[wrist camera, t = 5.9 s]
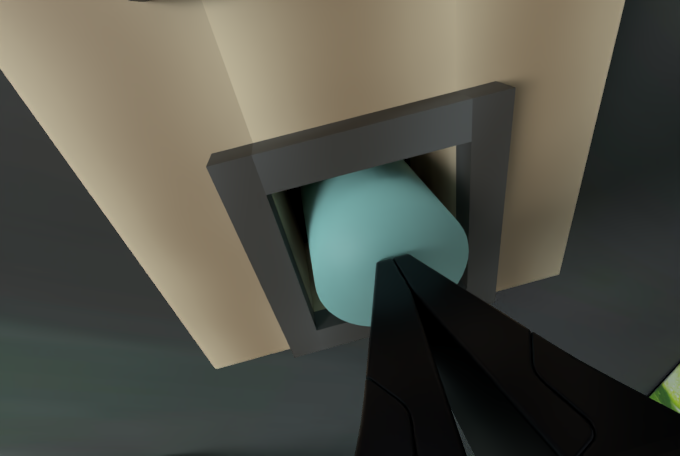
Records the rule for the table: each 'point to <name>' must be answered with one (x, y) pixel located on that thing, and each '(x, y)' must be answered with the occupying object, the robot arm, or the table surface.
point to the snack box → (669, 391)
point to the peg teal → (375, 234)
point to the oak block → (311, 135)
